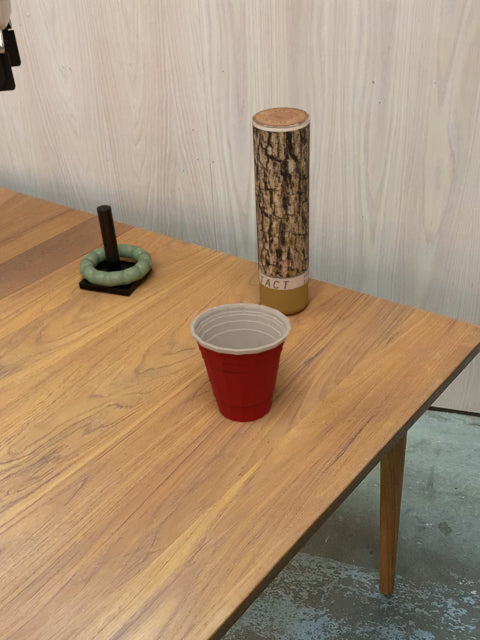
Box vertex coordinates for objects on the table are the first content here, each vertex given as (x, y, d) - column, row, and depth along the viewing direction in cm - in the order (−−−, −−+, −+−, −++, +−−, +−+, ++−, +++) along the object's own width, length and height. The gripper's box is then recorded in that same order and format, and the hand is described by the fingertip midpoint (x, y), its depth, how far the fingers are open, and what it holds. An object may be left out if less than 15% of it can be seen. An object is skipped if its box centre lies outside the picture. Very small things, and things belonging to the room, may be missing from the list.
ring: (68, 282, 113) (65, 270, 112) (103, 250, 120) (100, 238, 119) (132, 293, 110) (130, 280, 109) (164, 259, 117) (162, 247, 116)
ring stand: (79, 289, 113) (63, 216, 106) (105, 263, 119) (91, 193, 111) (129, 296, 111) (116, 223, 104) (152, 270, 117) (142, 199, 109)
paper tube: (283, 286, 112) (280, 103, 95) (318, 303, 108) (322, 115, 91) (249, 305, 109) (240, 118, 92) (284, 322, 105) (281, 131, 88)
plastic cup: (306, 395, 93) (306, 307, 85) (268, 450, 86) (265, 360, 78) (225, 375, 97) (218, 289, 88) (183, 426, 90) (171, 337, 81)
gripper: (-60, -103, 89) (-19, 60, 101) (-85, -80, 77) (-34, 103, 89) (6, -107, 90) (40, 55, 102) (-8, -84, 78) (33, 98, 89)
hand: (5, 78), depth 95 cm, fingers open, 9 cm apart
